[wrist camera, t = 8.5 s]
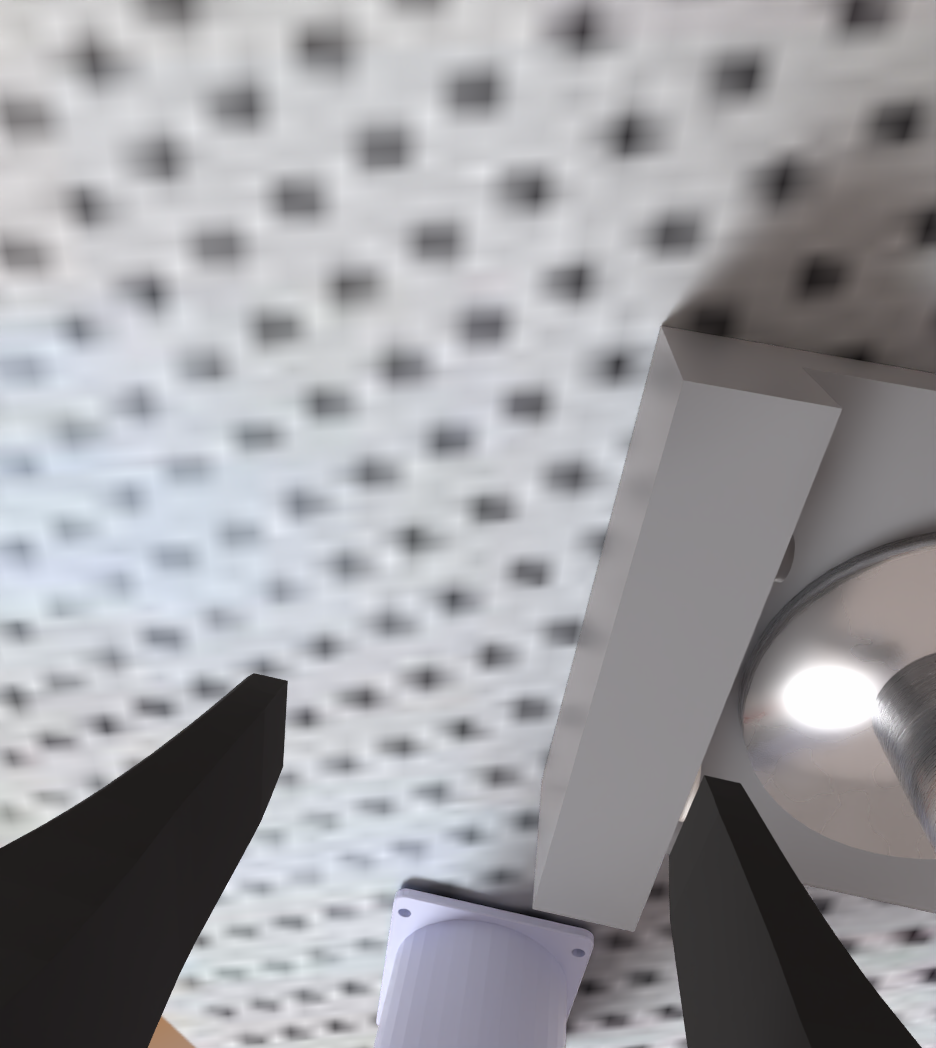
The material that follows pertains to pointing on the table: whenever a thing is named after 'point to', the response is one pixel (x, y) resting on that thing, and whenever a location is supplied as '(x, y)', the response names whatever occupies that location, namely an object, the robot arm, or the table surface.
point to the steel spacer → (911, 736)
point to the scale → (721, 604)
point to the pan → (841, 695)
